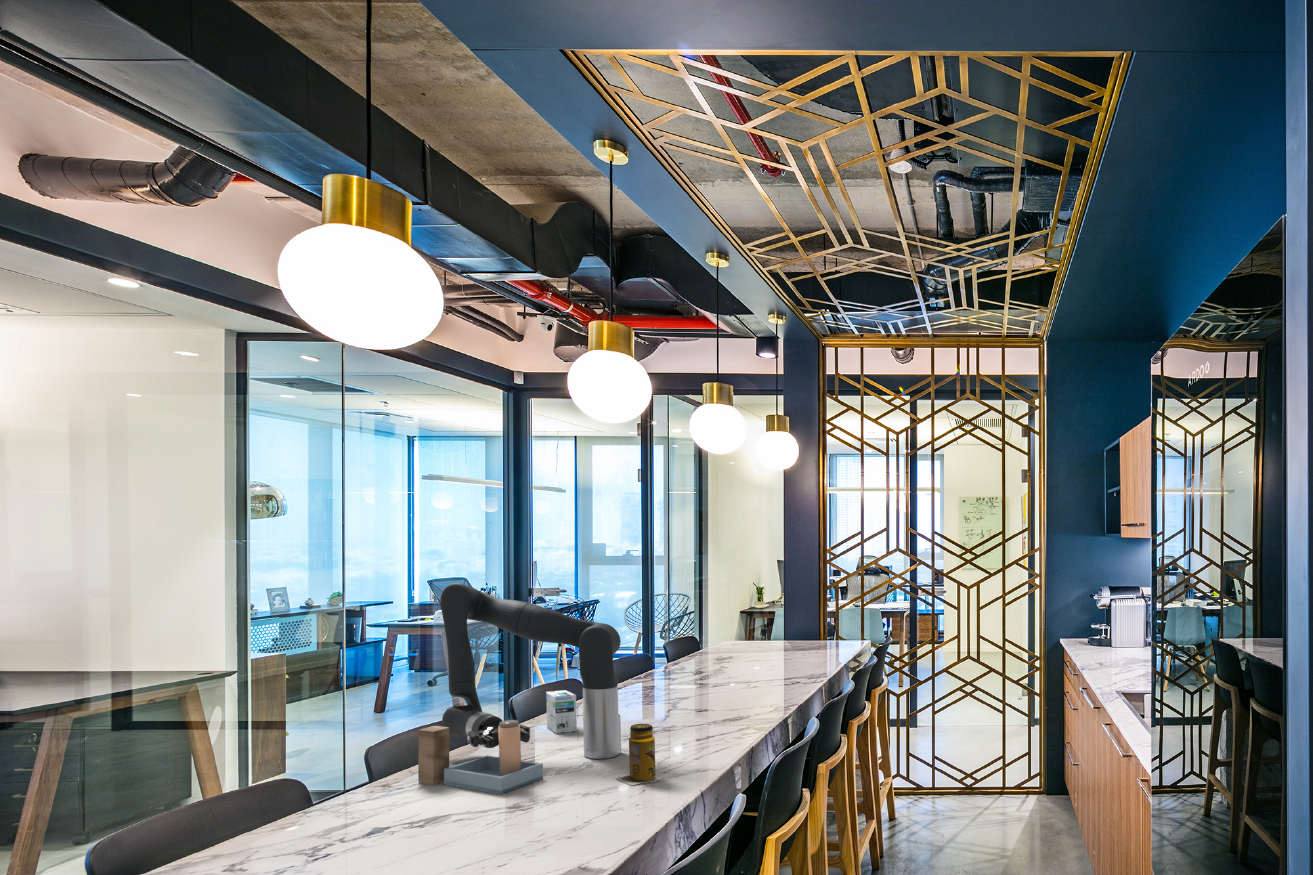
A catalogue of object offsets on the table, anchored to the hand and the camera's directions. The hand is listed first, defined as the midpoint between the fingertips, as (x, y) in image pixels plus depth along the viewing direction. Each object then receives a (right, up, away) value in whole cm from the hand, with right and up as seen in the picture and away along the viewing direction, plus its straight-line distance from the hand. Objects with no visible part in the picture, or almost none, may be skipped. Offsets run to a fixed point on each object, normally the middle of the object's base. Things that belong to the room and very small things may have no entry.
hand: (510, 740), depth 195 cm
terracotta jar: (0, -8, -1) cm, 9 cm away
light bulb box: (+6, -17, +55) cm, 58 cm away
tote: (-4, -10, 0) cm, 10 cm away
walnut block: (-19, -10, +2) cm, 21 cm away
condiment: (+30, -9, -2) cm, 31 cm away
